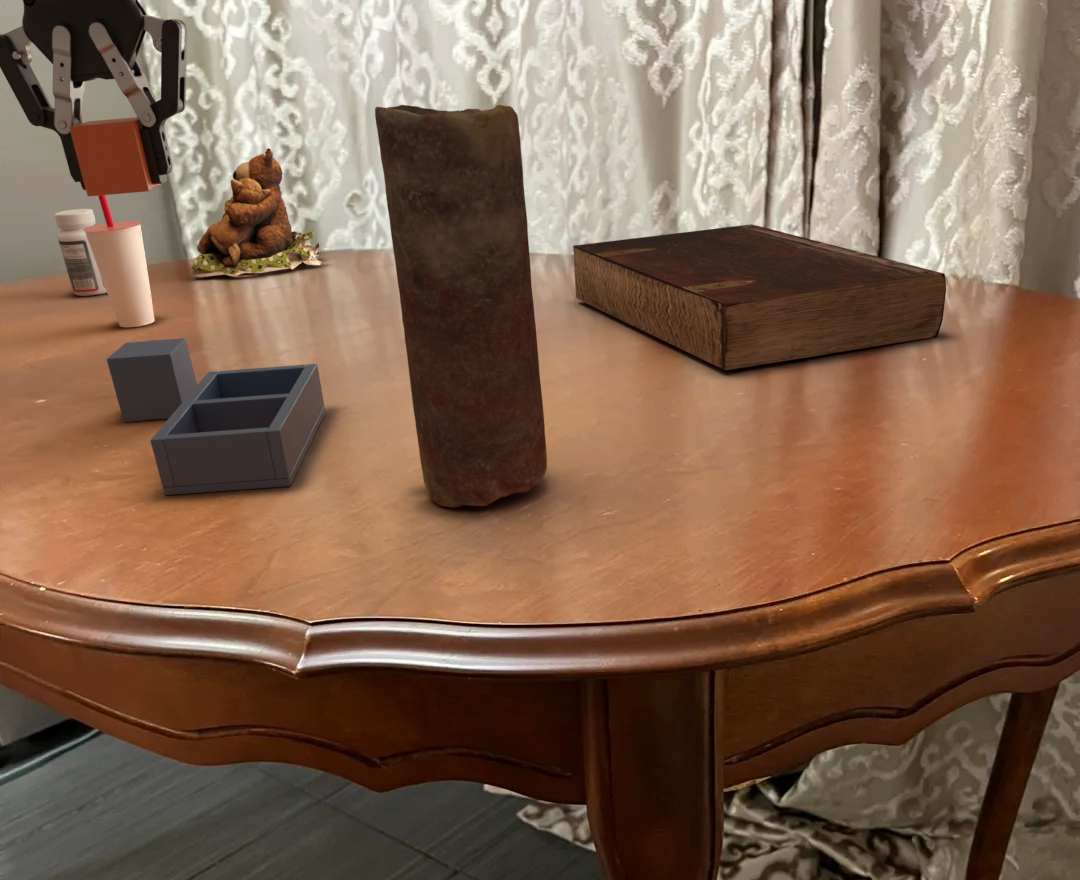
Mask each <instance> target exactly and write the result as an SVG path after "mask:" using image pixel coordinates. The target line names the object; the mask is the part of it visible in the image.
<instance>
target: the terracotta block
mask: <svg viewBox="0 0 1080 880" xmlns="http://www.w3.org/2000/svg"><path fill="white" fill-rule="evenodd" d="M69 129H70V132H71V136H72V140H73V144H74V147H75V151H76V155H77V158H78V162H79V166H80V170H81V173H82V177H83V181H84V185H85V188H86V190H85V193H86V196H87V197H97V196H100V195H105V196H110V195H120V194H123V195H124V194H133V193H134V194H135V193H145V192H150V191H151V190H154V189H155V188H156V189H157V187H160V186H161V185H162V184H152V182H151V178H150V174H149V170H148V166H147V162H146V157H145V153H144V149H143V145H142V140H141V136H140V132H139V129H142V125H141V122H140V120H139V119H138V117H137V116H134V117H122V118H121V117H120V118H111V119H101V120H100V119H99V120H89V121H85V122H82V123H81V124H77V125H74V126H70V127H69Z"/></svg>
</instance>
